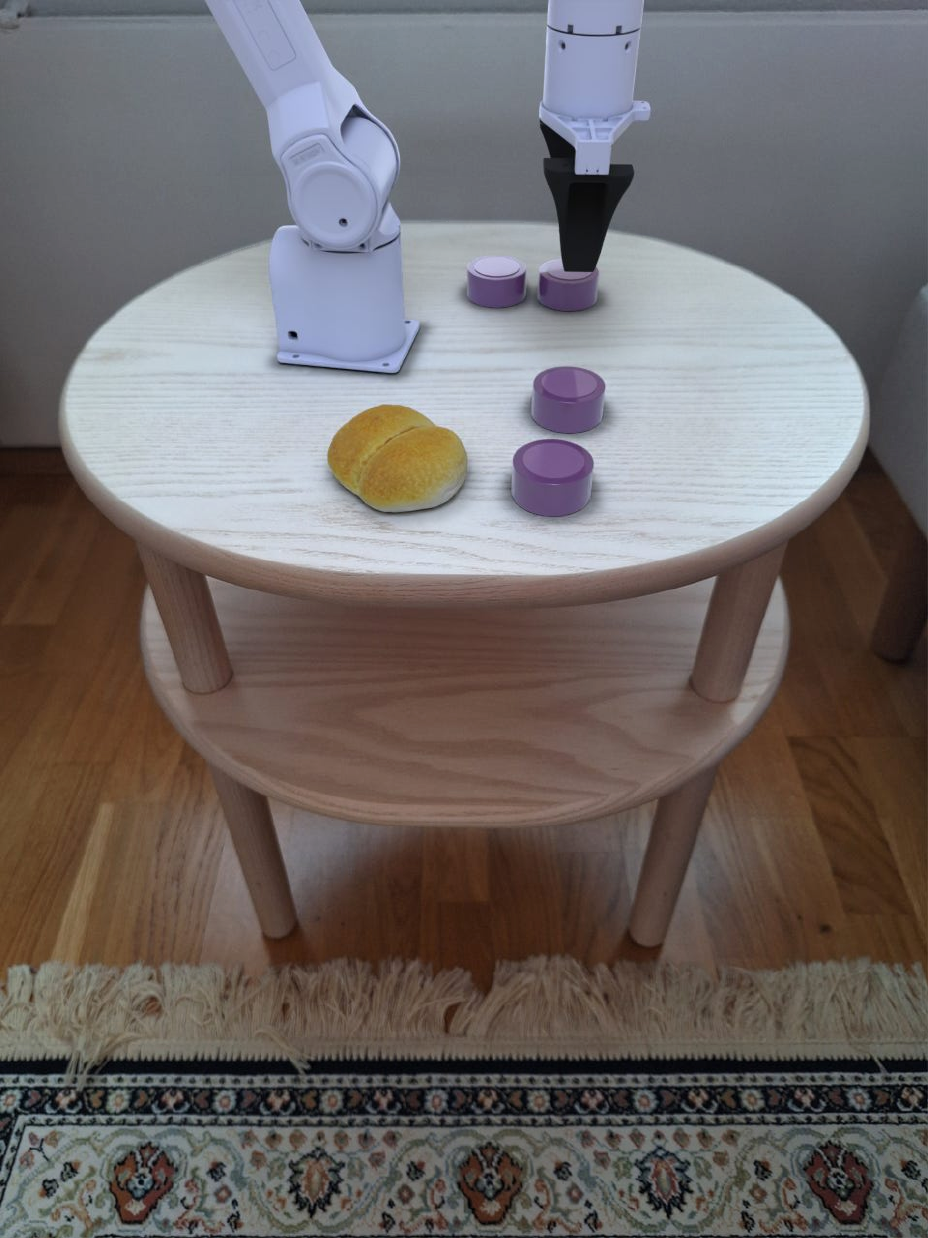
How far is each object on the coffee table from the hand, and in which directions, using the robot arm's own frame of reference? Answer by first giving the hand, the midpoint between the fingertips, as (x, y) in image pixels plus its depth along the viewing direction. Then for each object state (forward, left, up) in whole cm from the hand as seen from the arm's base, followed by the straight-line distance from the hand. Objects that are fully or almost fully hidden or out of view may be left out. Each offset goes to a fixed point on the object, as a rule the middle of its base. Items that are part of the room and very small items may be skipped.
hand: (575, 247), depth 67 cm
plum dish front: (+1, -18, -8) cm, 20 cm away
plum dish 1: (-1, +10, -8) cm, 13 cm away
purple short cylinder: (-7, +9, -8) cm, 15 cm away
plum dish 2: (+1, -9, -8) cm, 12 cm away
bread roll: (-9, -18, -9) cm, 22 cm away
